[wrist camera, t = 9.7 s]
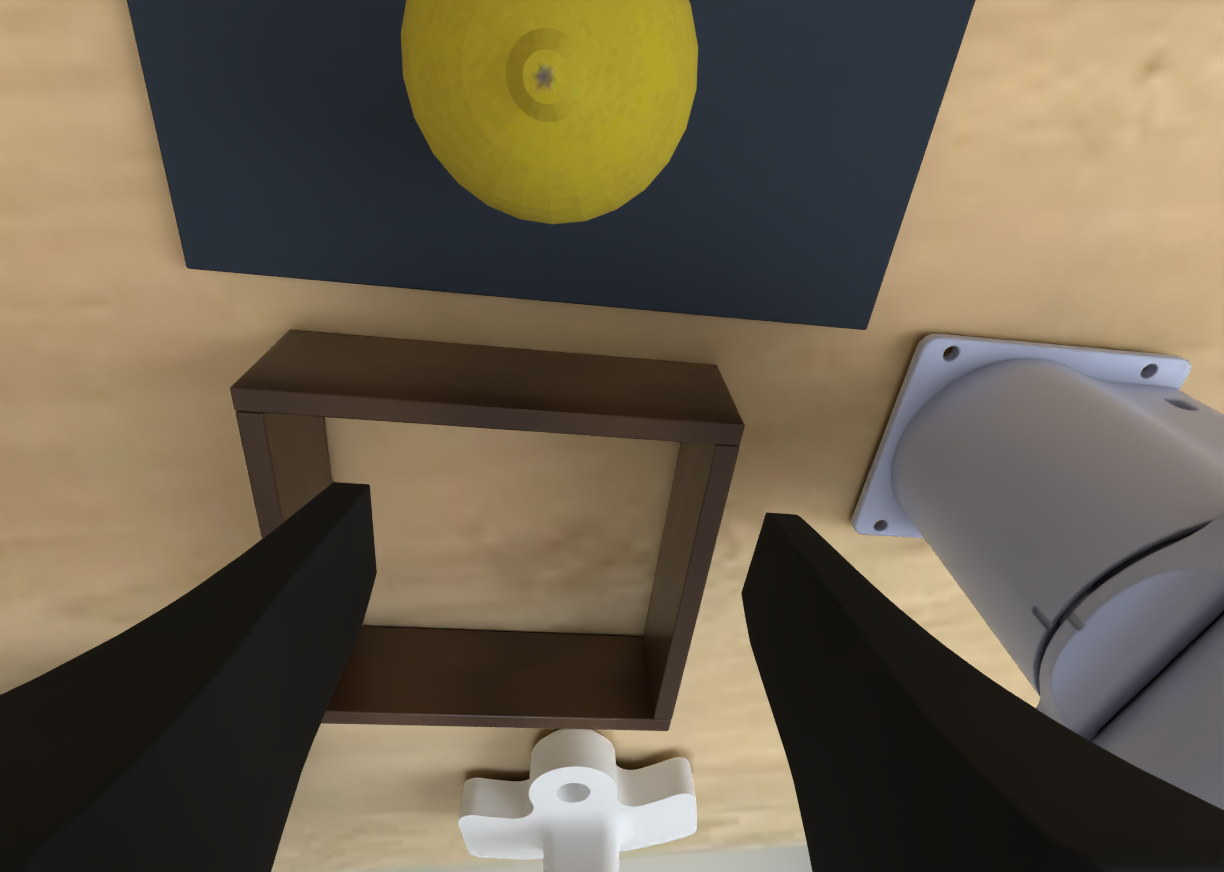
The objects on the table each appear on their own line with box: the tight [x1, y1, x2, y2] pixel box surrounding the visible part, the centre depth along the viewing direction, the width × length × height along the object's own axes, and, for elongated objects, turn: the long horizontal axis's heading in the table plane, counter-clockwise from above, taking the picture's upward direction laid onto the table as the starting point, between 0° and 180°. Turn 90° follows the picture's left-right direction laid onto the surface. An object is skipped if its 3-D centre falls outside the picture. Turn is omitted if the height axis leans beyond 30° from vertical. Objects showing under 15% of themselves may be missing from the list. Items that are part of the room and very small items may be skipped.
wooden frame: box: [230, 330, 745, 731], centre depth 22 cm, size 13×13×4 cm
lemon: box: [401, 0, 698, 224], centre depth 12 cm, size 6×6×8 cm
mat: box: [127, 0, 975, 330], centre depth 16 cm, size 20×12×1 cm, turn 83°
